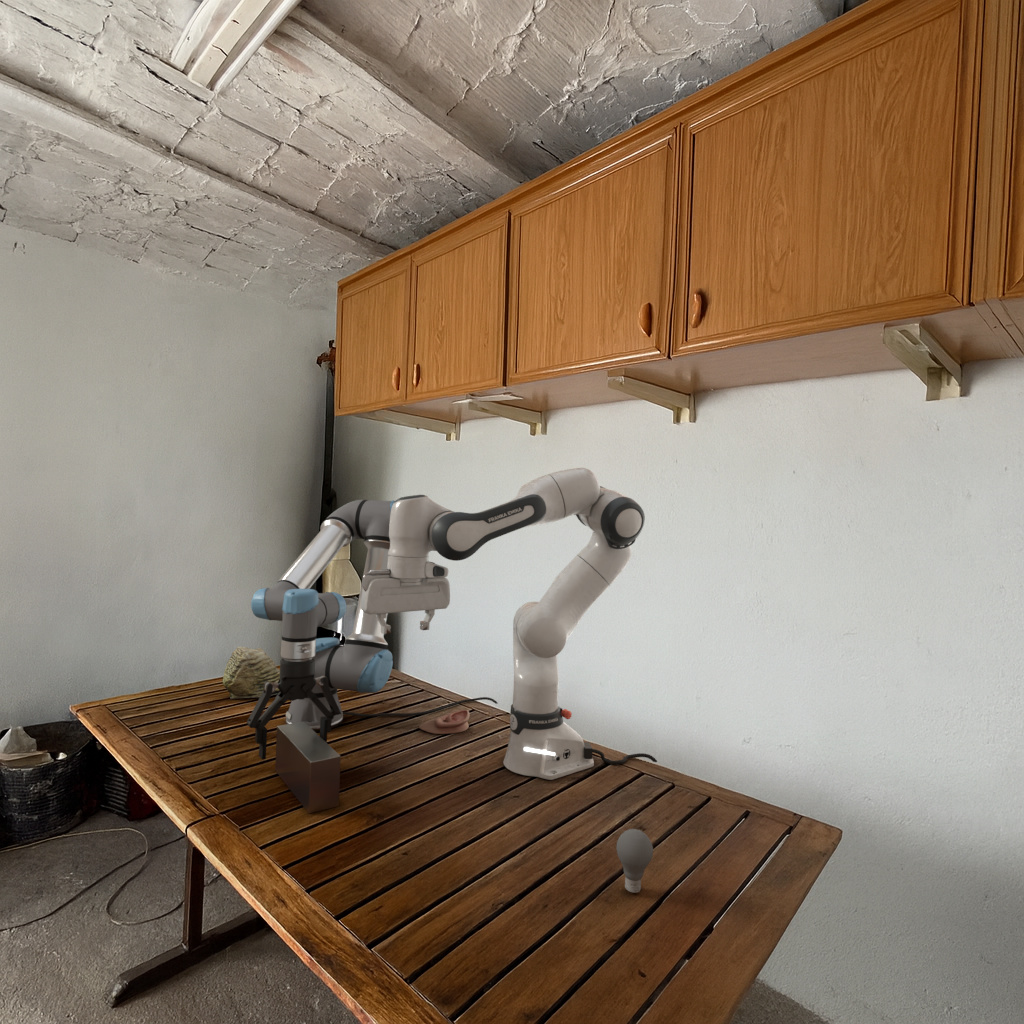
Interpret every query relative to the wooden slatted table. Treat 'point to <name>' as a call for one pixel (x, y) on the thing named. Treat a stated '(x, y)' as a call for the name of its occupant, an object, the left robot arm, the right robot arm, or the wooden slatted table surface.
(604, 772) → the wooden slatted table surface
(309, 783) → the box
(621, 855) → the light bulb
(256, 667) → the fossil
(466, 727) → the anatomical model
